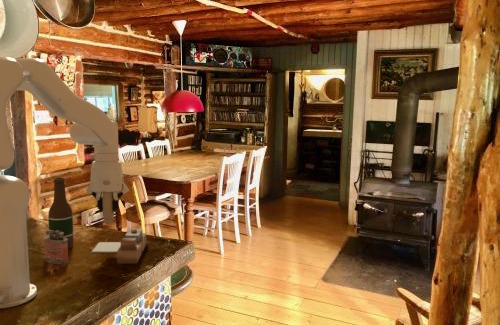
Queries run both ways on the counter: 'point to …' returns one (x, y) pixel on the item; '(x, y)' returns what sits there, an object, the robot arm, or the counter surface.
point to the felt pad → (107, 247)
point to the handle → (107, 205)
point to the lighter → (56, 247)
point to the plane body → (131, 246)
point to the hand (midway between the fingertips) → (108, 210)
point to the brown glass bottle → (61, 212)
